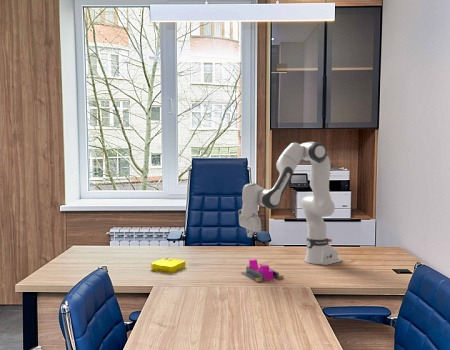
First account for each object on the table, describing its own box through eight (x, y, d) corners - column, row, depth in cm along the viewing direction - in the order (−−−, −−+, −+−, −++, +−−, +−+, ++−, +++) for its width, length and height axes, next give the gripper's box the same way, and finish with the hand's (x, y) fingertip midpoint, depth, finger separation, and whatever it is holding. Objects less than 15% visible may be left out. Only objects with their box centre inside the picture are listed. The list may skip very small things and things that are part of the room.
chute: (266, 269, 263) (266, 263, 263) (283, 278, 247) (283, 272, 246) (241, 273, 256) (241, 267, 256) (257, 282, 240) (257, 275, 240)
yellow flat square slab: (149, 270, 263) (149, 262, 263) (165, 264, 276) (165, 256, 276) (171, 274, 256) (171, 265, 256) (186, 267, 269) (186, 259, 269)
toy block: (273, 279, 246) (273, 265, 246) (262, 280, 244) (262, 266, 243) (259, 271, 260) (259, 258, 259) (249, 273, 257) (249, 259, 257)
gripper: (264, 214, 254) (263, 240, 255) (246, 209, 272) (246, 233, 273) (253, 215, 251) (253, 241, 252) (236, 210, 269) (236, 234, 270)
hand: (249, 236), depth 263 cm, fingers closed
